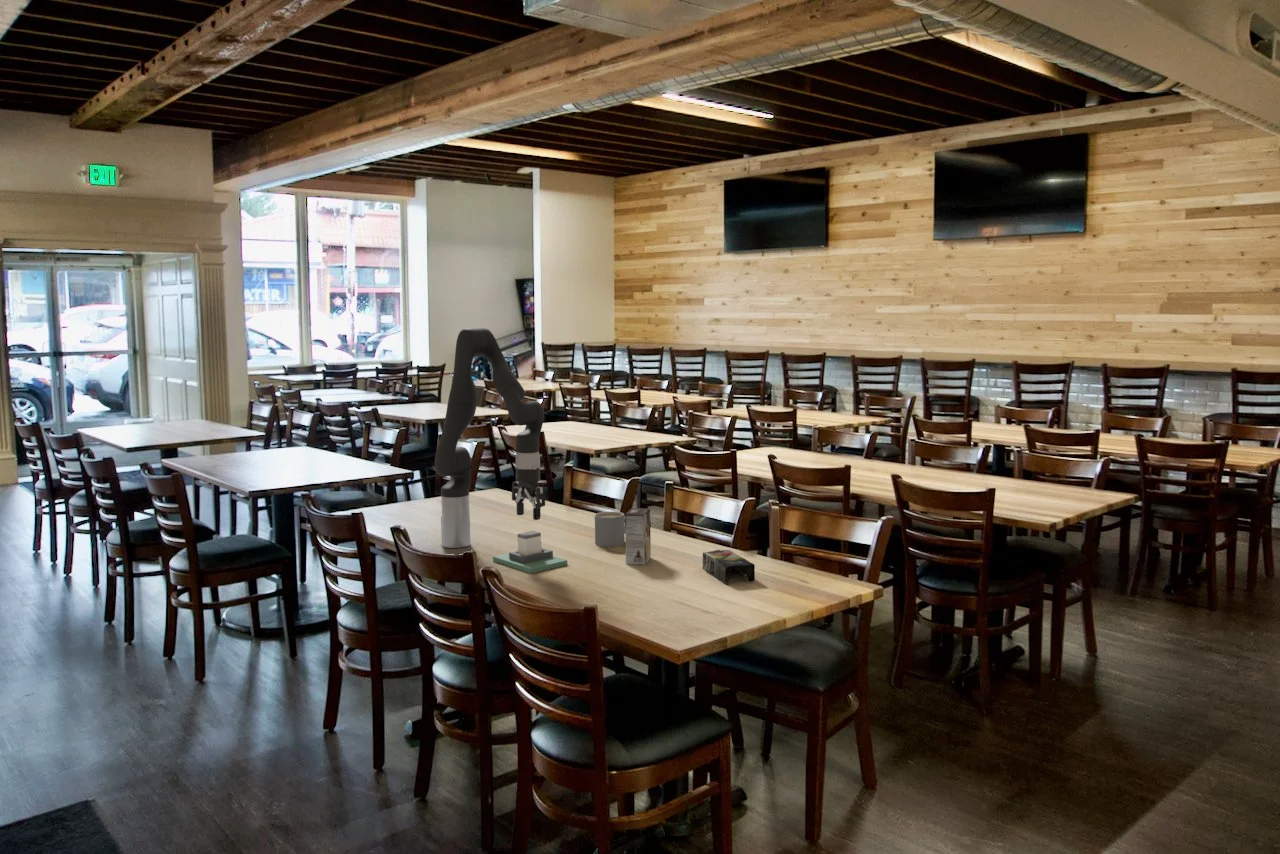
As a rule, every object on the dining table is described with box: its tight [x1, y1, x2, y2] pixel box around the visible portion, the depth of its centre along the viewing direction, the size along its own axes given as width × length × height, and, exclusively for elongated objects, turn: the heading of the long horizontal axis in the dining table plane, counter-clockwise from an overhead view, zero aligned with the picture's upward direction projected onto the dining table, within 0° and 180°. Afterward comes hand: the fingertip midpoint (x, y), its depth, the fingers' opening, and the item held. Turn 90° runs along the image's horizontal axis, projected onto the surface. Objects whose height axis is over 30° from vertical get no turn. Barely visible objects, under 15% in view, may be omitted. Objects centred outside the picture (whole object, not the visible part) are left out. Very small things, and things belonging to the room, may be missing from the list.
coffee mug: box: [594, 511, 626, 548], centre depth 330 cm, size 13×10×10 cm
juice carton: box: [701, 549, 756, 586], centre depth 290 cm, size 20×10×6 cm, turn 18°
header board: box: [492, 547, 568, 574], centre depth 305 cm, size 20×14×4 cm
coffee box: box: [624, 507, 652, 566], centre depth 306 cm, size 9×6×16 cm
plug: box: [517, 530, 543, 556], centre depth 305 cm, size 4×7×8 cm, turn 133°
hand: (528, 517), depth 304 cm, fingers open, 8 cm apart
